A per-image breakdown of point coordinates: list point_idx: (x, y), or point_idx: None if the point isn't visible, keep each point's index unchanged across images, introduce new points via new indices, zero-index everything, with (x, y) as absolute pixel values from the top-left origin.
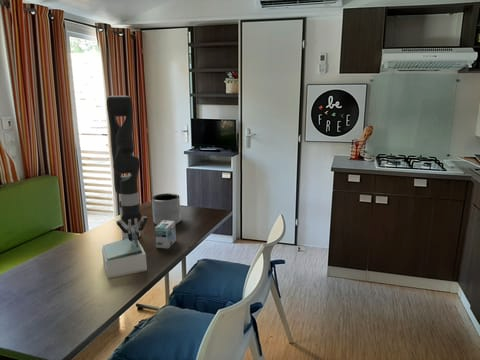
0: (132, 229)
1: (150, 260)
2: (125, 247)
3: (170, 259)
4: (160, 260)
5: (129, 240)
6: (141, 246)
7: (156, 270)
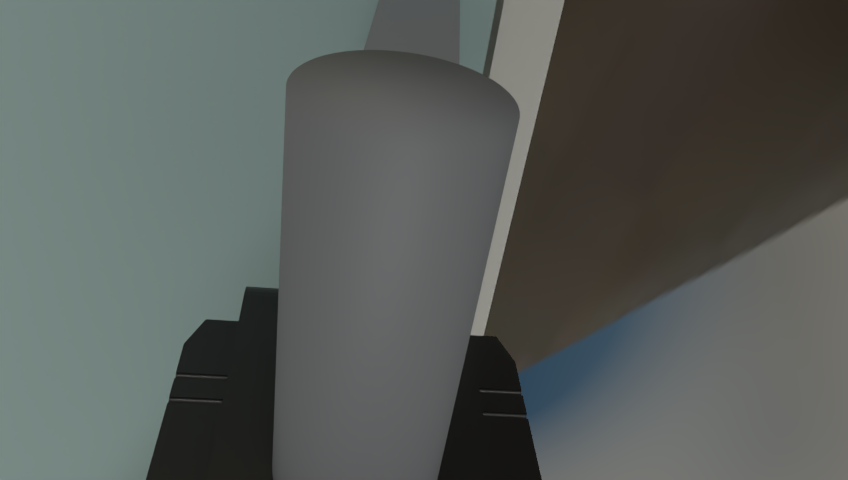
0: (385, 454)
1: (595, 37)
2: (118, 323)
3: (820, 163)
4: (705, 119)
5: (286, 4)
6: (508, 211)
7: (520, 325)
